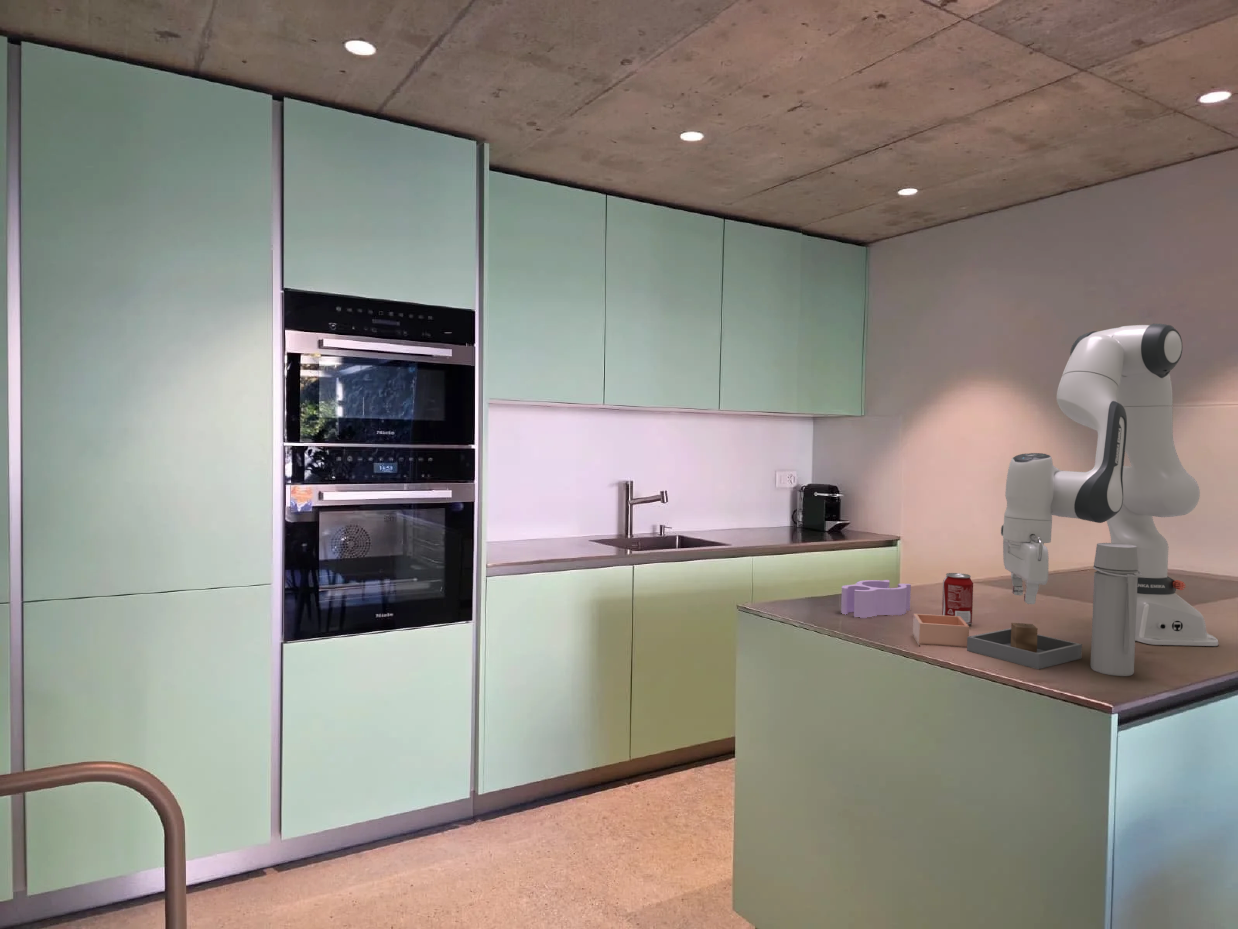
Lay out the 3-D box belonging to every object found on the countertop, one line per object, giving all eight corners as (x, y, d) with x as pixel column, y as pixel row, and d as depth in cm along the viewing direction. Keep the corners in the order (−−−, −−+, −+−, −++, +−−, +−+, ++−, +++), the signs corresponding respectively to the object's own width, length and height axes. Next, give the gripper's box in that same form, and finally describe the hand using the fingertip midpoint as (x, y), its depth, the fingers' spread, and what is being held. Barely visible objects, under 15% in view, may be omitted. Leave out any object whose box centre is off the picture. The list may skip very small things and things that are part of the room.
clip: (869, 621, 198) (869, 593, 198) (829, 612, 208) (829, 585, 208) (918, 612, 210) (919, 585, 209) (878, 603, 220) (879, 578, 219)
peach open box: (959, 638, 182) (960, 616, 182) (968, 649, 172) (969, 626, 172) (912, 635, 184) (913, 613, 184) (918, 646, 174) (919, 623, 174)
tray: (1010, 644, 178) (1010, 628, 178) (1081, 661, 165) (1081, 644, 165) (966, 653, 170) (967, 636, 169) (1038, 672, 157) (1038, 654, 156)
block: (1031, 652, 169) (1032, 624, 168) (1036, 657, 165) (1037, 628, 165) (1010, 651, 170) (1011, 622, 169) (1015, 656, 166) (1016, 627, 165)
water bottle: (1080, 668, 160) (1085, 542, 159) (1119, 668, 160) (1124, 542, 159) (1109, 682, 151) (1114, 549, 150) (1151, 683, 151) (1156, 549, 150)
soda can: (974, 628, 192) (976, 578, 192) (944, 626, 194) (946, 576, 193) (968, 621, 199) (970, 573, 198) (939, 620, 200) (940, 571, 200)
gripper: (1059, 539, 155) (1055, 610, 156) (1030, 528, 175) (1026, 591, 176) (1023, 536, 157) (1019, 607, 157) (999, 526, 177) (995, 589, 177)
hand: (1023, 599), depth 167 cm, fingers open, 8 cm apart
